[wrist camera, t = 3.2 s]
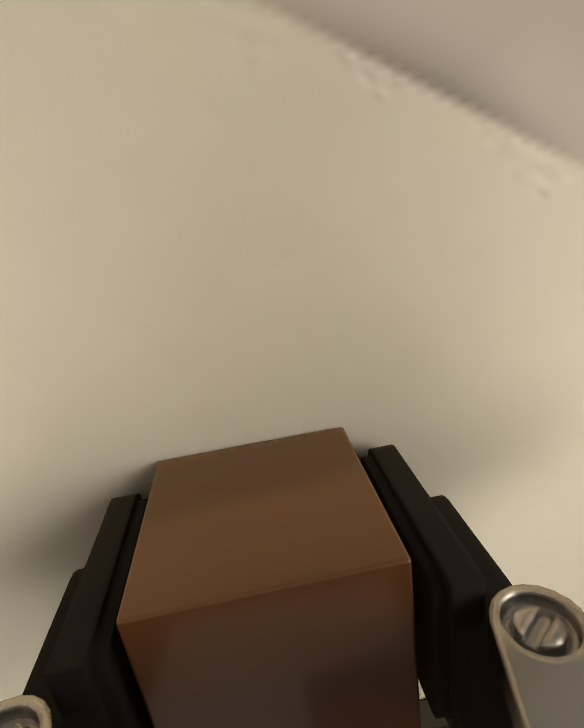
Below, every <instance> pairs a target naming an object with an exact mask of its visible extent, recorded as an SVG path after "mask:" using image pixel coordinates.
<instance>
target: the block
mask: <svg viewBox="0 0 584 728" xmlns="http://www.w3.org/2000/svg"><path fill="white" fill-rule="evenodd" d="M116 625H117V628H118V631H119V634H120V637H121V639H122V642H123V645H124V648H125V650H126V653H127V656H128V659H129V661H130V664H131V667H132V670H133V672H134V675H135V678H136V681H137V683H138V686H139V689H140V692H141V695H142V697H143V700H144V703H145V706H146V708H147V711H148V714H149V717H150V719H151V722H152V725H153V728H421V719H420V702H419V685H418V668H417V651H416V633H415V616H414V599H413V582H412V565H411V559H410V557H409V555H408V553H407V551H406V549H405V547H404V545H403V543H402V541H401V539H400V537H399V535H398V533H397V532H396V530H395V528H394V526H393V524H392V522H391V520H390V518H389V516H388V514H387V512H386V510H385V508H384V506H383V504H382V503H381V501H380V499H379V497H378V495H377V493H376V491H375V489H374V487H373V485H372V483H371V481H370V479H369V477H368V475H367V474H366V472H365V470H364V468H363V466H362V464H361V462H360V460H359V458H358V456H357V454H356V452H355V450H354V448H353V447H352V445H351V443H350V441H349V439H348V437H347V435H346V433H345V431H344V429H343V428H335V429H330V430H324V431H319V432H314V433H308V434H303V435H298V436H293V437H287V438H282V439H277V440H271V441H266V442H261V443H255V444H250V445H245V446H239V447H234V448H229V449H223V450H218V451H213V452H207V453H202V454H197V455H191V456H186V457H181V458H176V459H170V460H165V461H160V462H158V464H157V467H156V471H155V475H154V479H153V483H152V486H151V490H150V494H149V498H148V502H147V506H146V509H145V513H144V517H143V521H142V525H141V529H140V532H139V536H138V540H137V544H136V548H135V551H134V555H133V559H132V563H131V567H130V571H129V574H128V578H127V582H126V586H125V590H124V593H123V597H122V601H121V605H120V609H119V613H118V616H117V620H116Z"/></svg>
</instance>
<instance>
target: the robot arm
mask: <svg viewBox="0 0 584 728" xmlns="http://www.w3.org/2000/svg"><path fill="white" fill-rule="evenodd" d="M361 464H362V466H363V468H364V470H365V472H366V474H367V475H368V477H369V479H370V481H371V483H372V485H373V487H374V489H375V491H376V493H377V495H378V497H379V499H380V501H381V503H382V504H383V506H384V508H385V510H386V512H387V514H388V516H389V518H390V520H391V522H392V524H393V526H394V528H395V530H396V532H397V533H398V535H399V537H400V539H401V541H402V543H403V545H404V547H405V549H406V551H407V553H408V555H409V557H410V559H411V565H412V582H413V599H414V616H415V633H416V651H417V668H418V679H419V682H420V684H421V687H422V689H423V692H424V694H425V697H426V699H427V701H428V704H429V706H430V709H431V711H432V713H433V715H434V717H435V718H436V719H440V718H444V717H445V719H446V721H447V724H448V726H449V728H584V612H583V611H582V609H581V608H579V607H578V606H577V605H576V604H575V603H573V602H572V601H571V600H570V599H568V598H567V597H565V596H563V595H561V594H559V593H557V592H555V591H553V590H550V589H547V588H544V587H541V586H535V585H525V584H522V585H515V586H513V585H512V584H511V583H510V581H509V580H508V579H507V577H506V576H505V575H504V573H503V572H502V571H501V569H500V568H499V567H498V565H497V564H496V563H495V561H494V560H493V559H492V557H491V556H490V555H489V553H488V552H487V551H486V549H485V548H484V547H483V545H482V544H481V543H480V541H479V540H478V539H477V537H476V536H475V535H474V533H473V532H472V531H471V529H470V528H469V527H468V525H467V524H466V523H465V521H464V520H463V519H462V517H461V516H460V515H459V513H458V512H457V511H456V509H455V508H454V507H453V505H452V504H451V502H450V501H449V500H448V499H447V498H446V497H445V496H443V495H440V496H435V497H429V495H428V494H427V492H426V491H425V489H424V488H423V487H422V485H421V484H420V482H419V481H418V479H417V478H416V476H415V475H414V474H413V472H412V471H411V469H410V468H409V466H408V465H407V463H406V462H405V461H404V459H403V458H402V456H401V455H400V453H399V452H398V450H397V449H396V447H395V446H394V445H387V446H382V447H377V448H372V449H369V450H368V456H364V457H361ZM147 502H148V499H142V497H141V495H140V494H133V495H128V496H123V497H118V498H113V499H111V501H110V503H109V506H108V508H107V511H106V514H105V516H104V519H103V521H102V524H101V526H100V529H99V532H98V534H97V537H96V539H95V542H94V545H93V547H92V550H91V552H90V555H89V557H88V560H87V563H86V565H85V568H82V569H78V570H76V571H75V572H74V573H73V575H72V576H71V578H70V581H69V583H68V585H67V588H66V590H65V593H64V595H63V597H62V600H61V602H60V605H59V607H58V610H57V612H56V614H55V617H54V619H53V622H52V624H51V627H50V629H49V631H48V634H47V636H46V639H45V641H44V643H43V646H42V648H41V651H40V653H39V656H38V658H37V660H36V663H35V665H34V668H33V670H32V672H31V675H30V677H29V680H28V682H27V685H26V687H25V689H24V692H23V694H22V695H20V696H17V697H13V698H10V699H7V700H4V701H2V702H0V728H153V725H152V722H151V719H150V717H149V714H148V711H147V708H146V706H145V703H144V700H143V697H142V695H141V692H140V689H139V686H138V683H137V681H136V678H135V675H134V672H133V670H132V667H131V664H130V661H129V659H128V656H127V653H126V650H125V648H124V645H123V642H122V639H121V637H120V634H119V631H118V628H117V625H116V620H117V616H118V613H119V609H120V605H121V601H122V597H123V593H124V590H125V586H126V582H127V578H128V574H129V571H130V567H131V563H132V559H133V555H134V551H135V548H136V544H137V540H138V536H139V532H140V529H141V525H142V521H143V517H144V513H145V509H146V506H147Z"/></svg>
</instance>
